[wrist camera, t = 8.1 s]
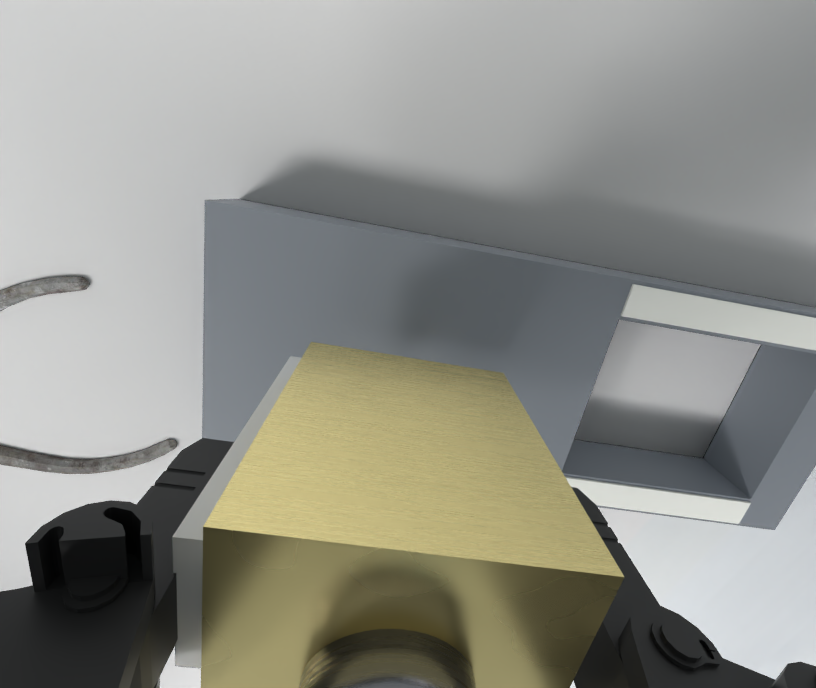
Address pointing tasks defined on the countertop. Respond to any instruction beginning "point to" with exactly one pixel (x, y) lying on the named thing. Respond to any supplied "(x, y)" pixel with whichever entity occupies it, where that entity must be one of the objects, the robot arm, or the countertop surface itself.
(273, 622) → the block
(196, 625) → the robot arm
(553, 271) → the rail board
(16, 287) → the pliers
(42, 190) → the countertop surface
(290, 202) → the countertop surface
